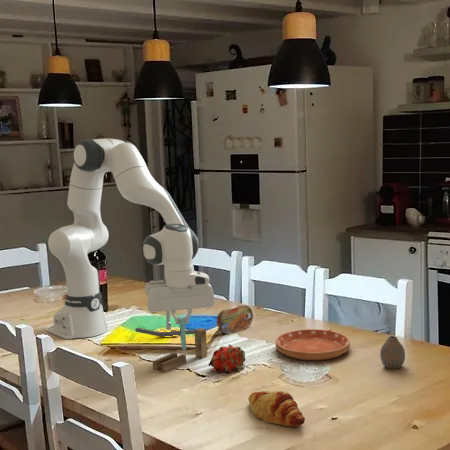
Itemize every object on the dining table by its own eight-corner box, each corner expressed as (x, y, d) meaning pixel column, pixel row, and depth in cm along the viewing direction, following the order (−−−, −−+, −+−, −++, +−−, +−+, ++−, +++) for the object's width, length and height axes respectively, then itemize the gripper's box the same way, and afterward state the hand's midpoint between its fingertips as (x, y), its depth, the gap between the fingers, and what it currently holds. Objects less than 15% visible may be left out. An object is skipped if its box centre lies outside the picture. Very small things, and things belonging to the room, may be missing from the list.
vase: (406, 363, 200) (406, 334, 198) (404, 371, 193) (404, 341, 192) (381, 361, 202) (381, 332, 201) (379, 370, 195) (378, 340, 194)
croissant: (242, 418, 176) (228, 395, 173) (269, 392, 180) (256, 369, 177) (295, 447, 158) (281, 421, 155) (324, 416, 162) (310, 391, 159)
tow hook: (162, 331, 244) (156, 337, 235) (161, 295, 243) (154, 300, 234) (186, 331, 243) (180, 338, 234) (184, 295, 242) (179, 300, 233)
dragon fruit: (250, 373, 201) (213, 387, 197) (236, 351, 207) (200, 364, 202) (254, 356, 196) (216, 370, 191) (240, 334, 201) (203, 347, 196)
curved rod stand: (137, 358, 215) (135, 328, 214) (162, 347, 224) (161, 319, 223) (188, 370, 202) (186, 338, 201) (213, 358, 211) (211, 328, 210)
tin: (221, 336, 233) (220, 312, 232) (215, 334, 236) (214, 310, 235) (254, 326, 243) (253, 303, 242) (247, 325, 246) (246, 301, 244)
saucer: (364, 348, 215) (364, 336, 215) (321, 369, 199) (321, 356, 198) (305, 335, 231) (304, 325, 230) (260, 354, 214) (260, 342, 214)
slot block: (153, 372, 201) (152, 361, 201) (174, 363, 208) (173, 352, 208) (165, 376, 198) (165, 364, 198) (186, 366, 205) (185, 355, 205)
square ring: (182, 350, 205) (180, 322, 204) (180, 341, 213) (179, 315, 212) (186, 349, 205) (184, 322, 204) (184, 341, 213) (183, 314, 212)
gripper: (144, 283, 202) (147, 329, 204) (214, 278, 204) (216, 323, 206) (144, 278, 208) (147, 323, 210) (212, 273, 211) (214, 317, 213)
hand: (182, 323), depth 208 cm, fingers closed on square ring, 1 cm apart
